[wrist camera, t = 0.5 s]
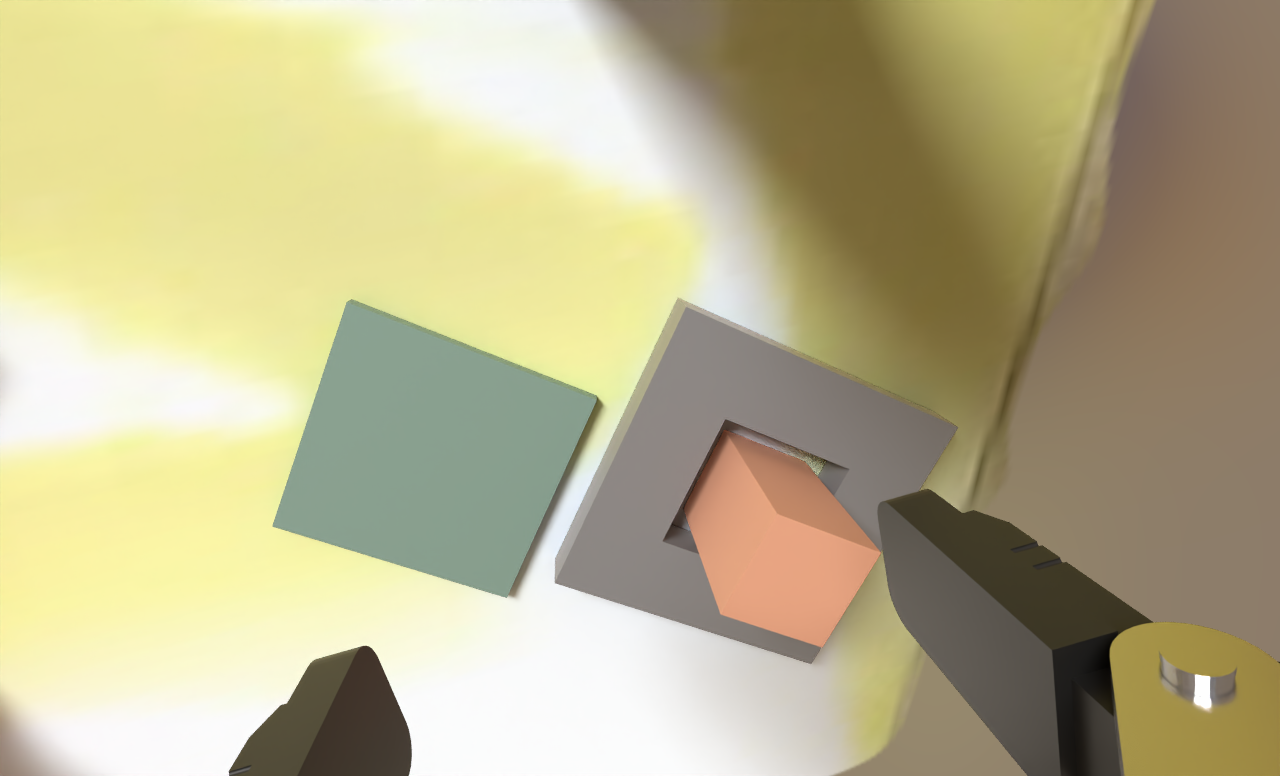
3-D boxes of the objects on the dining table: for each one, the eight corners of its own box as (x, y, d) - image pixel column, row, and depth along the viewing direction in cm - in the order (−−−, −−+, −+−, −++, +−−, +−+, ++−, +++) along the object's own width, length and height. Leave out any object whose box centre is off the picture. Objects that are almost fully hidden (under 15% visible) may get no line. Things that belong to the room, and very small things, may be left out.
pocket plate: (677, 297, 28) (686, 306, 26) (934, 412, 31) (958, 427, 29) (555, 558, 31) (554, 582, 29) (797, 637, 34) (811, 664, 32)
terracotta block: (724, 429, 30) (777, 513, 22) (804, 461, 31) (881, 552, 24) (683, 508, 31) (720, 614, 24) (762, 537, 32) (822, 647, 25)
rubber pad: (351, 299, 26) (346, 301, 26) (596, 395, 29) (596, 400, 28) (278, 519, 29) (272, 526, 28) (507, 590, 31) (506, 598, 31)
